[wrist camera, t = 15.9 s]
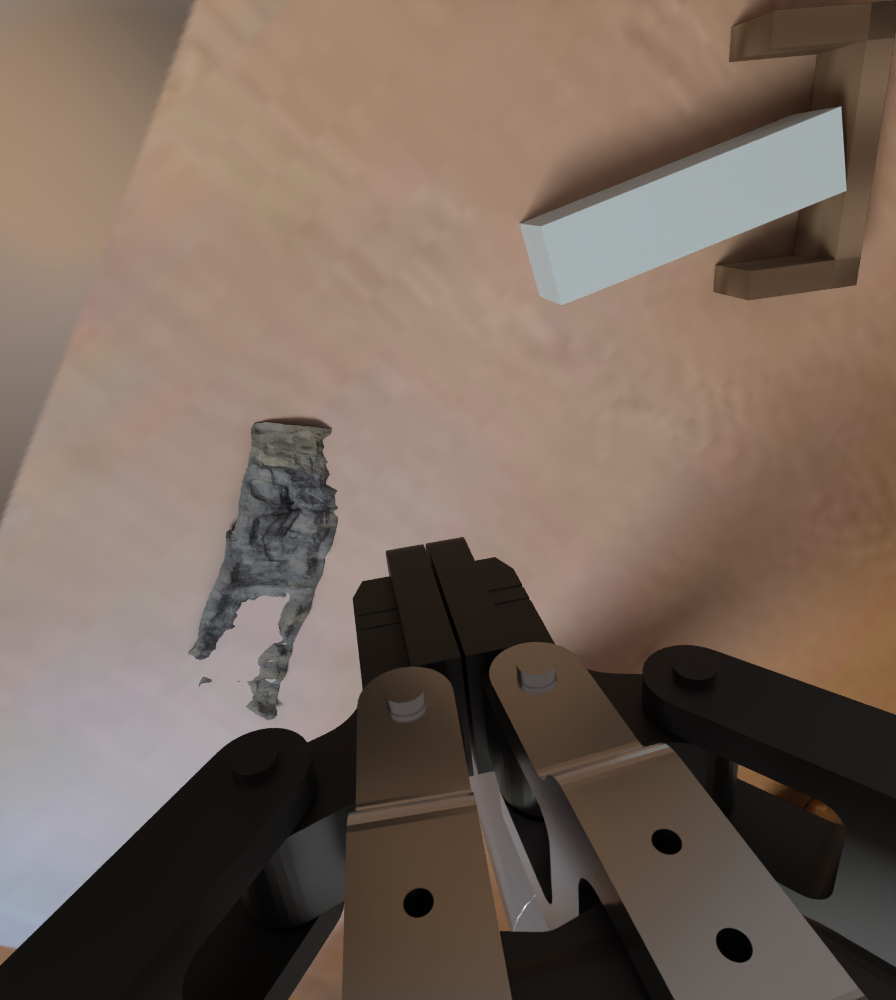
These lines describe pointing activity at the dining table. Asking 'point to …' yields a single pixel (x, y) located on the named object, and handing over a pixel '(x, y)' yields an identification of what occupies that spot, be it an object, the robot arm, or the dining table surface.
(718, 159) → the white rectangular bar
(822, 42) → the end cap
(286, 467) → the grey flat forked piece
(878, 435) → the dining table surface
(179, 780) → the dining table surface
